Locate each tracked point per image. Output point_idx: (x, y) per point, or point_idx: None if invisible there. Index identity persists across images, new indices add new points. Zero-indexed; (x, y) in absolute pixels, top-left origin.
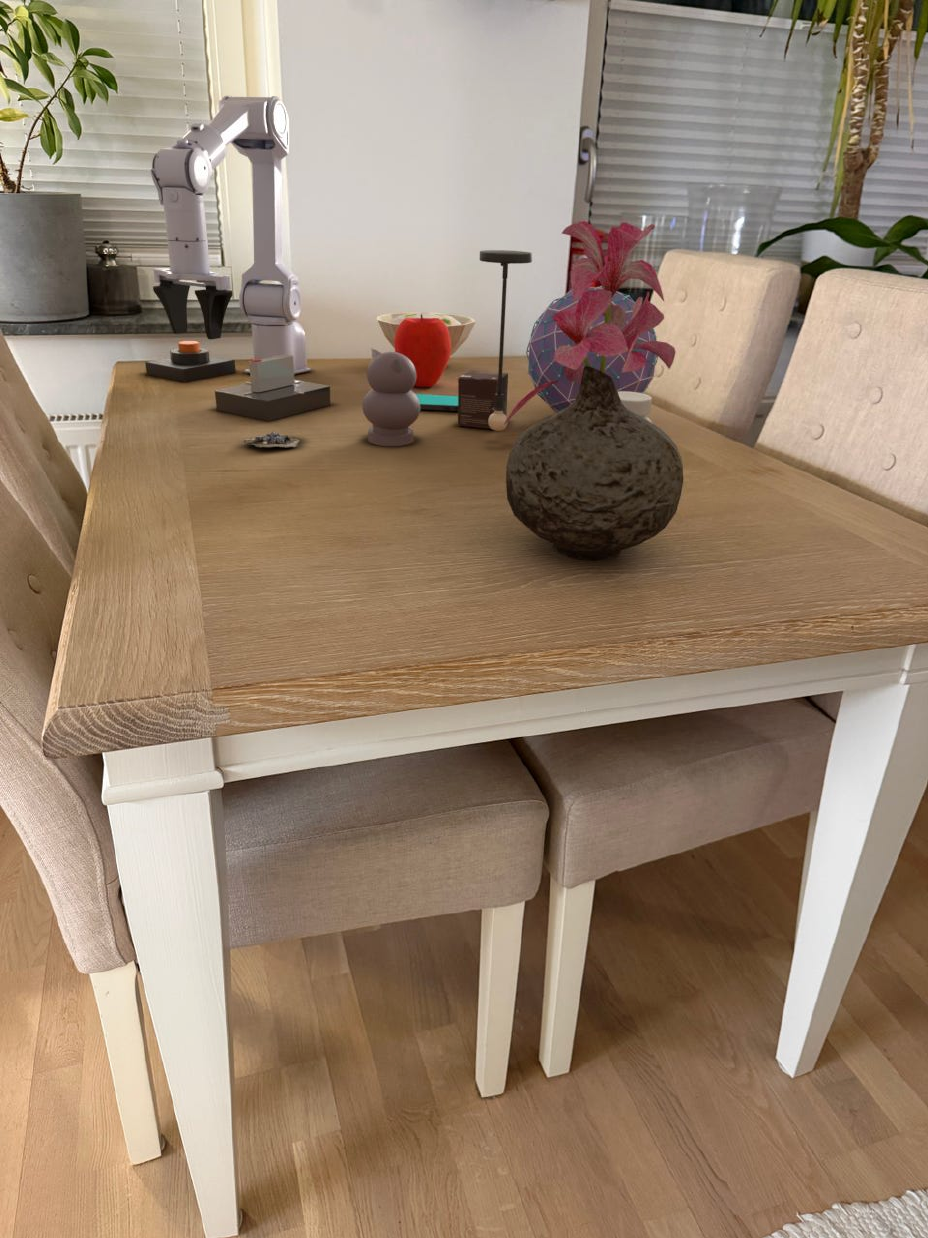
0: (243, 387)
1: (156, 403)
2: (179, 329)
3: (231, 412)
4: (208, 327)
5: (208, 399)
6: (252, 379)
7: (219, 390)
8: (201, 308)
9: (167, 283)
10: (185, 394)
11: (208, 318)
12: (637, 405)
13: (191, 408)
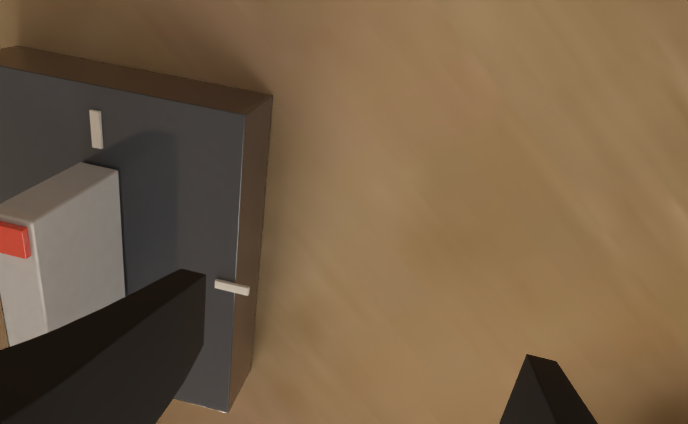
0: (196, 218)
1: (574, 71)
2: (520, 398)
3: (192, 80)
4: (127, 297)
5: (417, 229)
6: (74, 184)
7: (229, 125)
8: (47, 382)
9: None
10: (554, 262)
11: (60, 329)
12: None
13: (377, 71)
